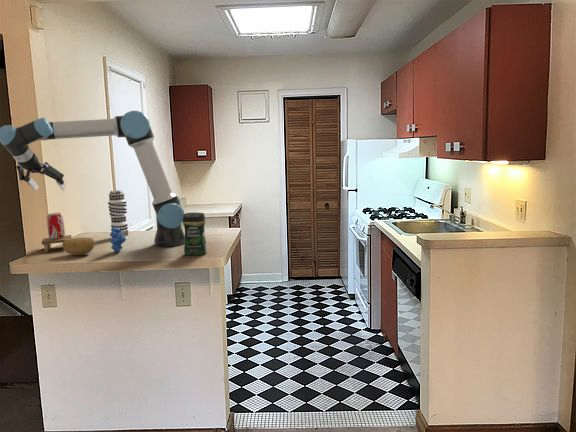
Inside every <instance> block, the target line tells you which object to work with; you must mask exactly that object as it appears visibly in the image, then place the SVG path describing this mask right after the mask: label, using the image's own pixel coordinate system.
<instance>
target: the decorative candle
mask: <svg viewBox="0 0 576 432" xmlns="http://www.w3.org/2000/svg"><path fill="white" fill-rule="evenodd" d="M107 195H108V197H109V199H108V202H107V204H108V211H109V215H110V216H109V217H110V221H111V222H110V231H111V230H112V229H113V228H114V227H116V228H118V229H120V233H121V234H122V235H123V237H125V239H126V240H127V239H128V238H129V227H128V226H129V224H128V222H127V215H128V214H127V213H128V212H127V208H126V207H127V203H128V202H127V201H126V199H125V193H124V192H123V190H112V191H111V190H110V192H109V193H108V194H107Z"/></svg>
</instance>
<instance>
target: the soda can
mask: <svg viewBox="0 0 576 432" xmlns="http://www.w3.org/2000/svg"><path fill="white" fill-rule="evenodd" d="M46 224H47V225H46V226H47V233H48V237H49V238H51V239H62V238H63V237H64V236H66V232H65V231H66V230H65V223H64V216H63V215H62V212H52V213H47V217H46Z"/></svg>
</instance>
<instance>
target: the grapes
mask: <svg viewBox="0 0 576 432" xmlns="http://www.w3.org/2000/svg"><path fill="white" fill-rule="evenodd" d="M109 236H110V237H111V239H110V241H109V242H110V243H111V249H113V251H114V252H115V253H117V254H118V253H120V251H122V249H123V246H122V244H123V243H125V242H126V240H127V238H126V239H125V237H123V235H122V234H121V233H120V229H118V228H116V227H114V228H113V229H112V230H111V229H110V234H109Z"/></svg>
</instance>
